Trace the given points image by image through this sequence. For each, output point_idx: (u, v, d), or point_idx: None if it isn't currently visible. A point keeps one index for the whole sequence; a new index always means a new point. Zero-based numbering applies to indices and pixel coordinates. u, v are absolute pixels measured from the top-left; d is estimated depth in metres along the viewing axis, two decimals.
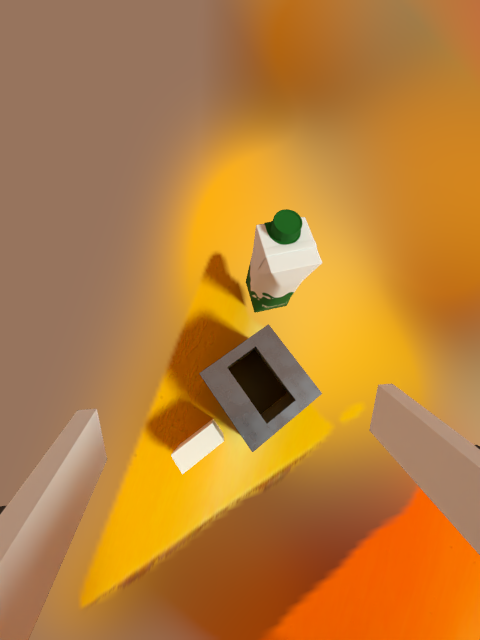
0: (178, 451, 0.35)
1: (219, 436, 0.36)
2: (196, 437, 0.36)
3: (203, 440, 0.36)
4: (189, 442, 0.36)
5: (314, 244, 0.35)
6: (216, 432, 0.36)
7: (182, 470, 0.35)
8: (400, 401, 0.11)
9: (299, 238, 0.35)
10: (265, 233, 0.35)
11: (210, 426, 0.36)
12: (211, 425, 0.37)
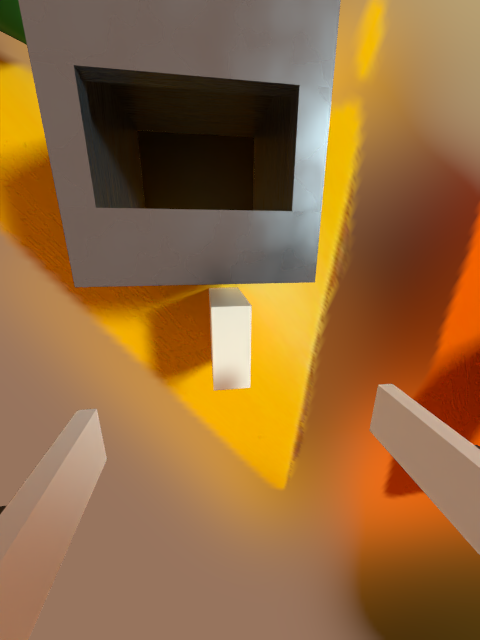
0: (216, 378, 0.20)
1: (239, 308, 0.19)
2: (215, 343, 0.19)
3: (228, 335, 0.19)
4: (215, 357, 0.20)
5: None
6: (230, 309, 0.19)
7: (245, 385, 0.21)
8: (400, 401, 0.11)
9: None
10: None
11: (214, 313, 0.18)
12: (214, 310, 0.18)
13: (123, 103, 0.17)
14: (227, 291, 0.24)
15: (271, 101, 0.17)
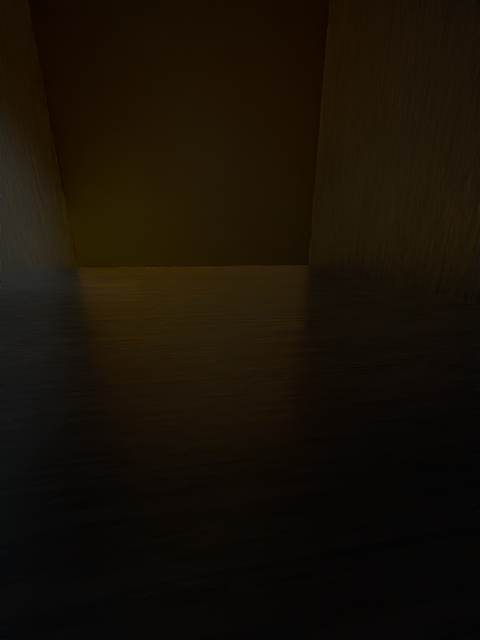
0: None
1: None
2: None
3: None
4: None
5: None
6: None
7: None
8: None
9: None
10: None
11: None
12: None
13: None
14: None
15: None
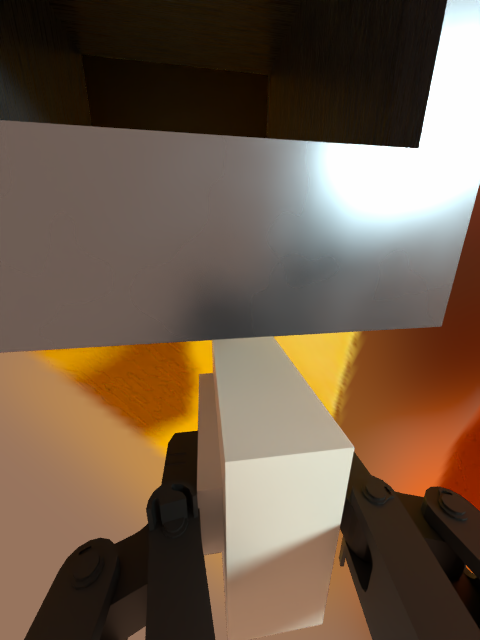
0: (236, 620, 0.07)
1: (317, 456, 0.06)
2: (236, 550, 0.06)
3: (276, 527, 0.06)
4: (234, 580, 0.07)
5: None
6: (288, 462, 0.06)
7: (311, 622, 0.08)
8: None
9: None
10: None
11: (236, 477, 0.06)
12: (235, 470, 0.05)
13: None
14: (252, 347, 0.11)
15: None
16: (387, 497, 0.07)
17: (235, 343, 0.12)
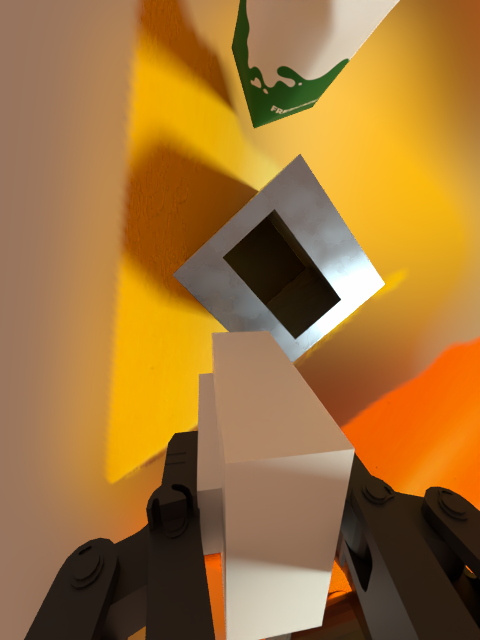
0: (235, 622, 0.07)
1: (318, 458, 0.06)
2: (236, 552, 0.06)
3: (276, 528, 0.06)
4: (233, 581, 0.07)
5: None
6: (288, 463, 0.06)
7: (310, 623, 0.08)
8: None
9: None
10: None
11: (236, 479, 0.06)
12: (235, 472, 0.05)
13: None
14: (252, 348, 0.11)
15: None
16: (387, 497, 0.07)
17: (235, 344, 0.12)
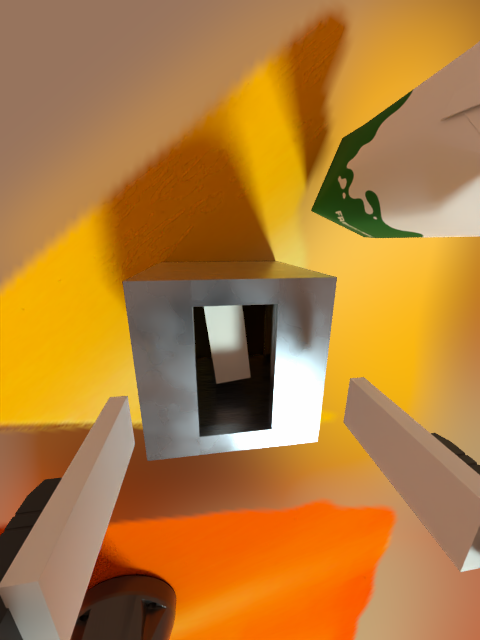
0: (217, 371, 0.21)
1: None
2: (212, 339, 0.20)
3: (223, 330, 0.20)
4: (213, 352, 0.21)
5: None
6: None
7: (245, 375, 0.22)
8: (368, 393, 0.12)
9: None
10: None
11: (207, 310, 0.19)
12: (206, 308, 0.19)
13: None
14: None
15: None
16: None
17: None
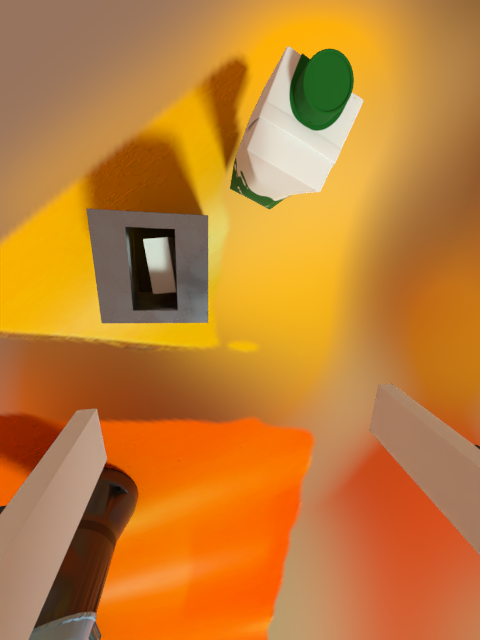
0: (153, 285, 0.33)
1: (160, 239, 0.31)
2: (149, 262, 0.32)
3: (156, 257, 0.32)
4: (150, 271, 0.32)
5: (334, 157, 0.22)
6: (155, 240, 0.31)
7: (172, 290, 0.33)
8: (400, 401, 0.11)
9: (325, 130, 0.21)
10: (289, 76, 0.20)
11: (145, 242, 0.31)
12: (145, 241, 0.31)
13: None
14: None
15: None
16: None
17: None
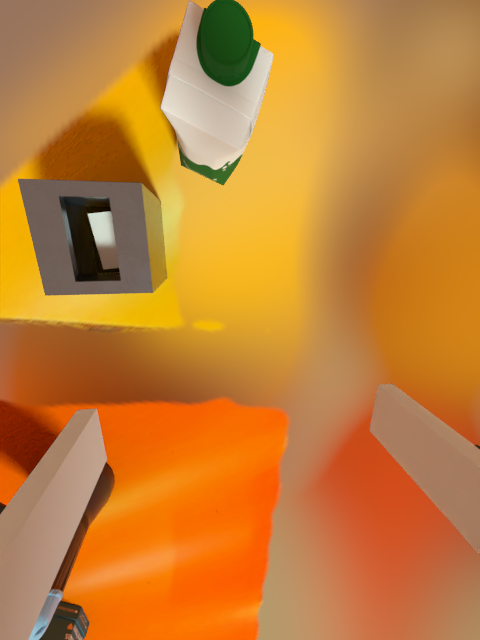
0: (103, 261, 0.33)
1: (105, 213, 0.32)
2: (96, 237, 0.32)
3: (103, 231, 0.32)
4: (98, 246, 0.33)
5: (250, 113, 0.22)
6: (99, 214, 0.32)
7: None
8: (400, 401, 0.11)
9: (238, 86, 0.22)
10: (194, 31, 0.20)
11: (90, 217, 0.32)
12: (89, 215, 0.32)
13: None
14: None
15: None
16: None
17: None
